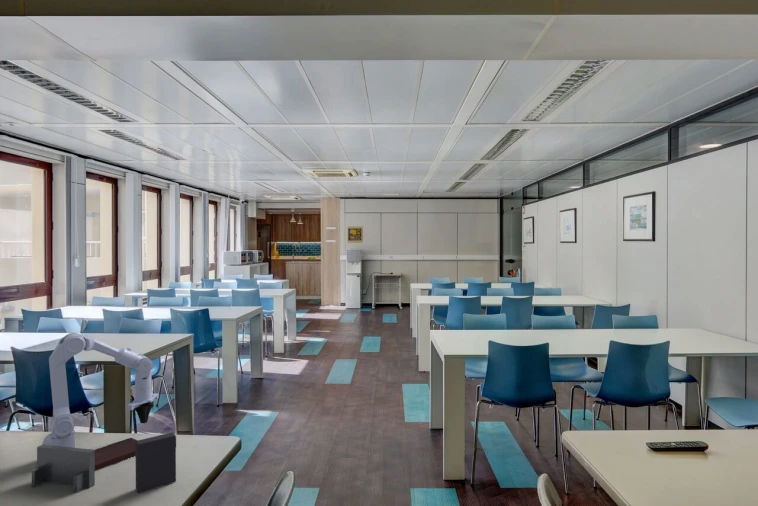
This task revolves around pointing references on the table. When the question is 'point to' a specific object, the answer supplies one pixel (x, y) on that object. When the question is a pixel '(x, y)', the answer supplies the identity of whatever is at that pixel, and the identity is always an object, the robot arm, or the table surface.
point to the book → (114, 453)
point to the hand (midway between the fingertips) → (143, 422)
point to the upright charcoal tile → (155, 461)
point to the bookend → (64, 467)
